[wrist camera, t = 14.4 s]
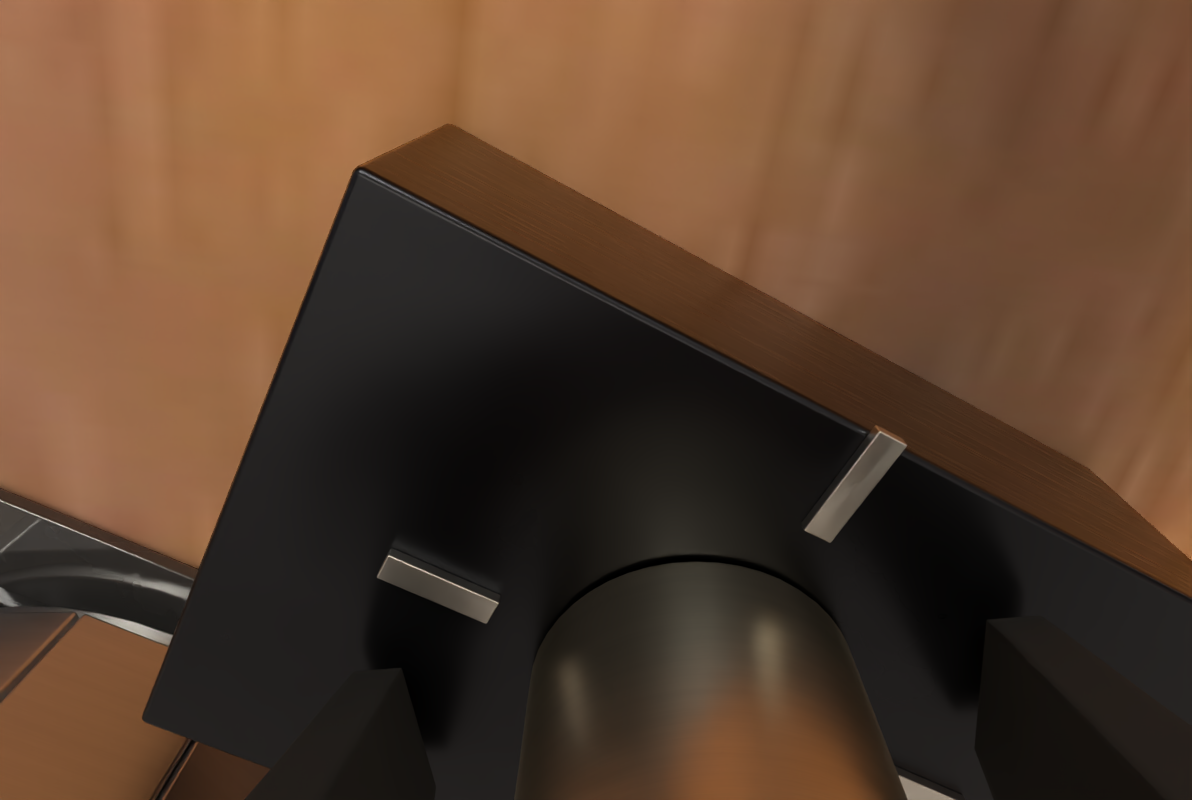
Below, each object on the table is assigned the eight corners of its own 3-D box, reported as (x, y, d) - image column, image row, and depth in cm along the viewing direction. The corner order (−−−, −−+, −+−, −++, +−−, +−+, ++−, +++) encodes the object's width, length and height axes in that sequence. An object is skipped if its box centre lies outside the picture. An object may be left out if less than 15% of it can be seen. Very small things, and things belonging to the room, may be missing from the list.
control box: (271, 533, 14) (128, 737, 10) (450, 113, 11) (351, 155, 7) (819, 766, 17) (889, 1016, 12) (1094, 463, 14) (1313, 656, 9)
